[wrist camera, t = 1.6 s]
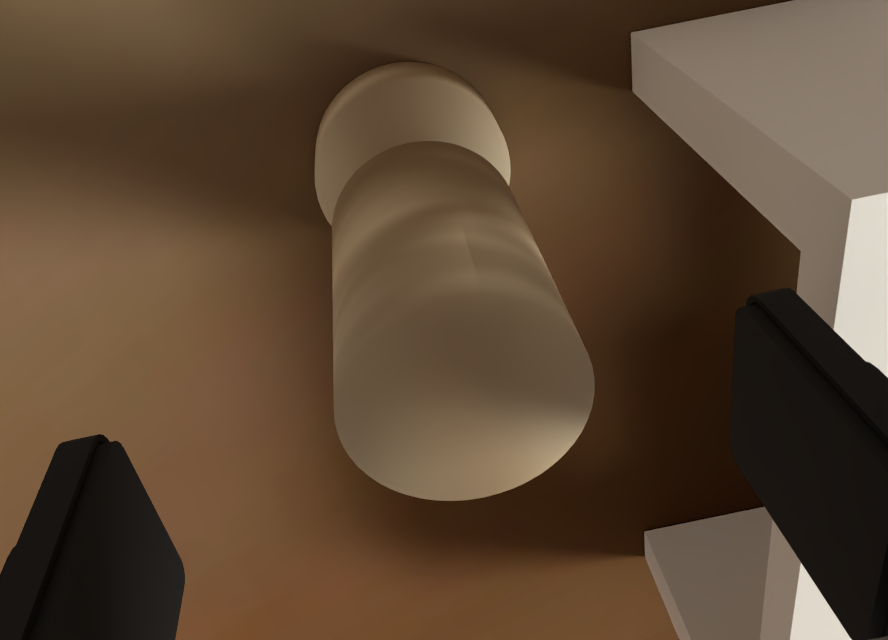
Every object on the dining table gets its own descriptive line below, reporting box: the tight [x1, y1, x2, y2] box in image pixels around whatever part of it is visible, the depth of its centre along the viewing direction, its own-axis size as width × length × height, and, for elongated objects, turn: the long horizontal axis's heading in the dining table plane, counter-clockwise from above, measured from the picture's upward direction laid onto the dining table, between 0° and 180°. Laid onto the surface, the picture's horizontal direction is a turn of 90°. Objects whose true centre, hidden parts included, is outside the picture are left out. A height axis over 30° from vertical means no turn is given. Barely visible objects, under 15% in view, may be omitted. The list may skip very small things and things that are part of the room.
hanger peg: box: [315, 62, 595, 501], centre depth 16 cm, size 5×5×10 cm
